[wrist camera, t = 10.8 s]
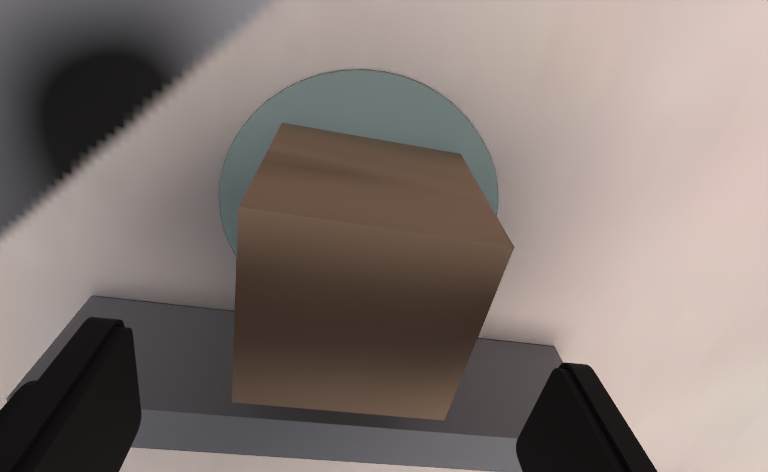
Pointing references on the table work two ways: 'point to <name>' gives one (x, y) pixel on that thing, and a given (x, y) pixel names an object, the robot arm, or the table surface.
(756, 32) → the table surface
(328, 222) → the cube
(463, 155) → the mat
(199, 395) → the bar
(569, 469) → the robot arm
